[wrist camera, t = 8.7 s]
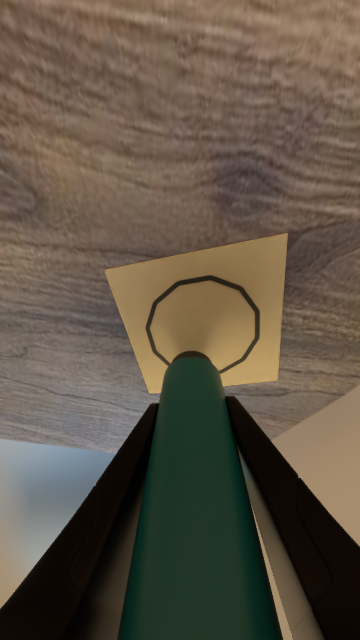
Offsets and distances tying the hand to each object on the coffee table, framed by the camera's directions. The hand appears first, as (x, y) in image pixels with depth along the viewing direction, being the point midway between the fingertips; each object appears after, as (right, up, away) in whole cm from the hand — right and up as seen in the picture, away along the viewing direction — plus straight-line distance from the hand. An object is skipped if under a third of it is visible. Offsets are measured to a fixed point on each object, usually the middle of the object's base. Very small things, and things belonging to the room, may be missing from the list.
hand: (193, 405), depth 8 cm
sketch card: (+1, +3, +3) cm, 5 cm away
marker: (0, +1, +2) cm, 3 cm away
